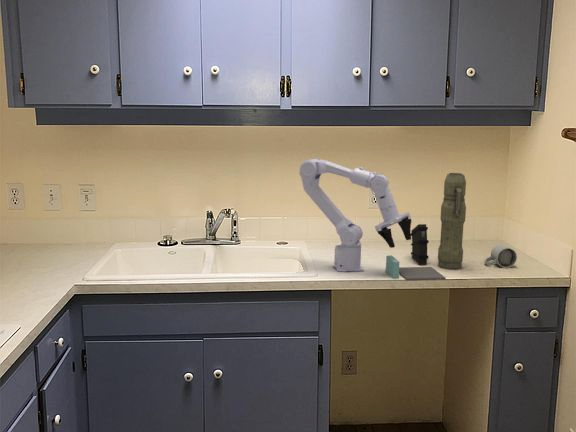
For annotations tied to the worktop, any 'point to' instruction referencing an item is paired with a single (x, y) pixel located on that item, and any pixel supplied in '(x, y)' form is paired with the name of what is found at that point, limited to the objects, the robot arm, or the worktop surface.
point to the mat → (420, 273)
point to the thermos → (452, 222)
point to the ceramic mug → (502, 257)
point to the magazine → (419, 244)
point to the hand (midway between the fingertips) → (400, 243)
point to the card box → (392, 267)
